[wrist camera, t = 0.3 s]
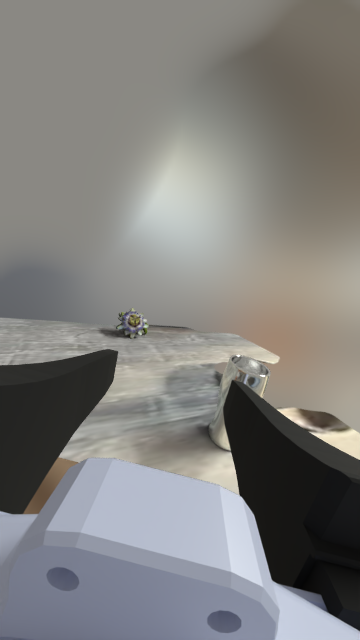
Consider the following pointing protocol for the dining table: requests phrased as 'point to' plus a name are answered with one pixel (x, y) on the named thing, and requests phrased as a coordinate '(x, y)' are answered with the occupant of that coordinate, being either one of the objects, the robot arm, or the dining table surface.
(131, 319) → the passion flower
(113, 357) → the robot arm
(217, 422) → the beer glass
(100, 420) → the dining table surface
